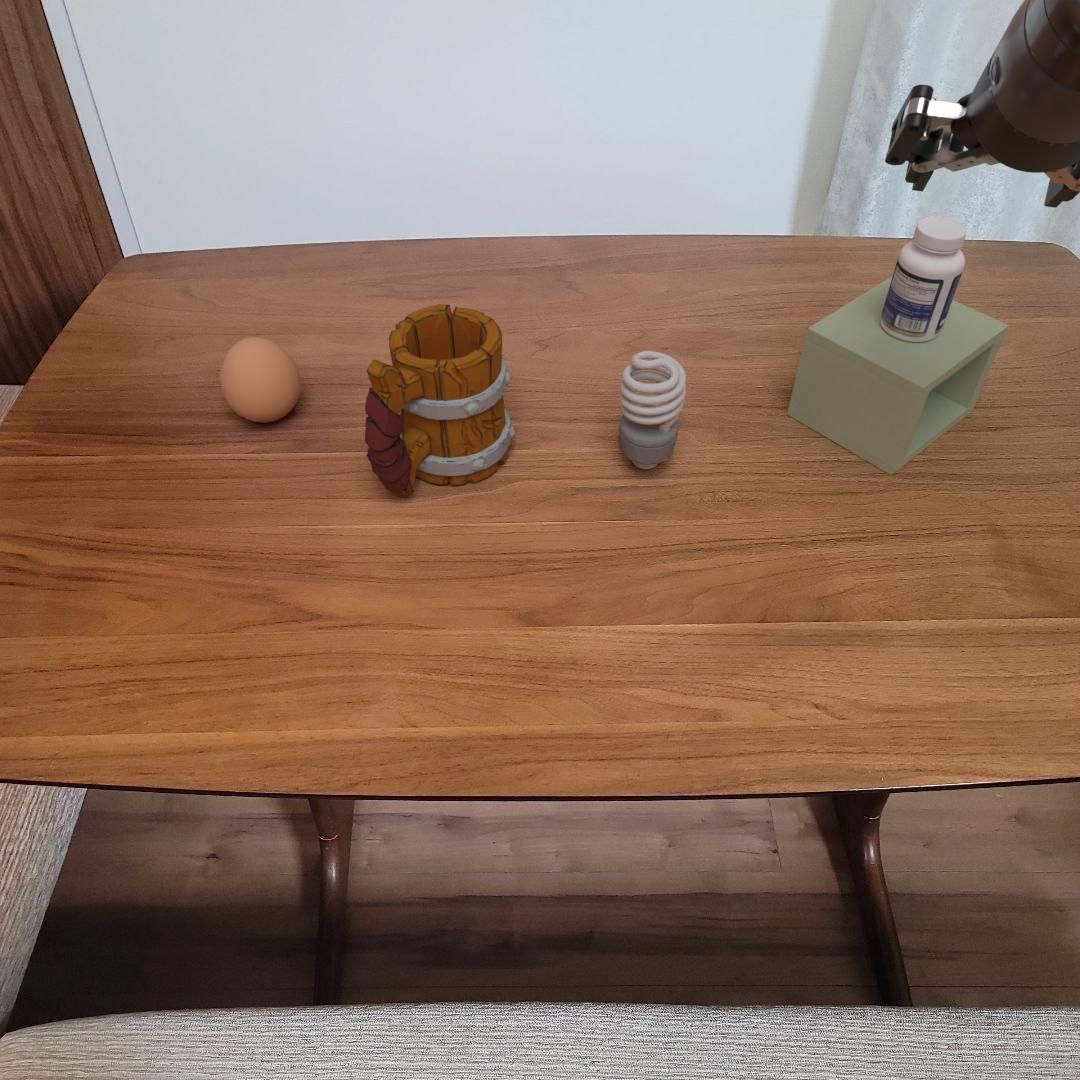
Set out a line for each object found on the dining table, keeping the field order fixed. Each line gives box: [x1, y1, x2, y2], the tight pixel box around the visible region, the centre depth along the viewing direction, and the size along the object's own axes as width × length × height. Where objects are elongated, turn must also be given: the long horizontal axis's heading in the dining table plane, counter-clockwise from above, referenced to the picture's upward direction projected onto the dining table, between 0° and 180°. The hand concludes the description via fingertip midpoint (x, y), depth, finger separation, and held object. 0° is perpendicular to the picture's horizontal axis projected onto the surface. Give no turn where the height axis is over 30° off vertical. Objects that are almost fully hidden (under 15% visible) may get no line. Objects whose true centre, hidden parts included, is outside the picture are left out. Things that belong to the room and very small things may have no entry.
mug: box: [364, 303, 516, 497], centre depth 81 cm, size 11×16×15 cm, turn 147°
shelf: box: [786, 275, 1009, 476], centre depth 88 cm, size 12×14×10 cm
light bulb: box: [618, 350, 687, 470], centre depth 82 cm, size 6×6×12 cm
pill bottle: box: [880, 215, 968, 342], centre depth 80 cm, size 5×5×10 cm
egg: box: [219, 336, 302, 424], centre depth 88 cm, size 7×7×8 cm
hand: (984, 184), depth 63 cm, fingers open, 8 cm apart
